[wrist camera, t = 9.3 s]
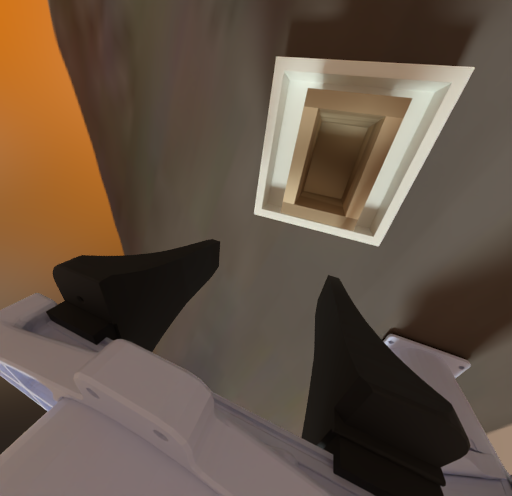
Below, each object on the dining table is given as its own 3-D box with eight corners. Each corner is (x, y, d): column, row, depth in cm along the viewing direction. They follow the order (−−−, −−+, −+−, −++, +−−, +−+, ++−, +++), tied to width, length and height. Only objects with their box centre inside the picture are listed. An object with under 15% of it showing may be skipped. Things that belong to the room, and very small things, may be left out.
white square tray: (372, 234, 18) (378, 246, 16) (262, 207, 21) (253, 214, 18) (448, 83, 13) (475, 67, 10) (284, 71, 15) (276, 56, 13)
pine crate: (346, 208, 17) (353, 231, 12) (294, 196, 19) (280, 212, 13) (382, 117, 14) (412, 97, 9) (315, 109, 15) (307, 87, 10)
